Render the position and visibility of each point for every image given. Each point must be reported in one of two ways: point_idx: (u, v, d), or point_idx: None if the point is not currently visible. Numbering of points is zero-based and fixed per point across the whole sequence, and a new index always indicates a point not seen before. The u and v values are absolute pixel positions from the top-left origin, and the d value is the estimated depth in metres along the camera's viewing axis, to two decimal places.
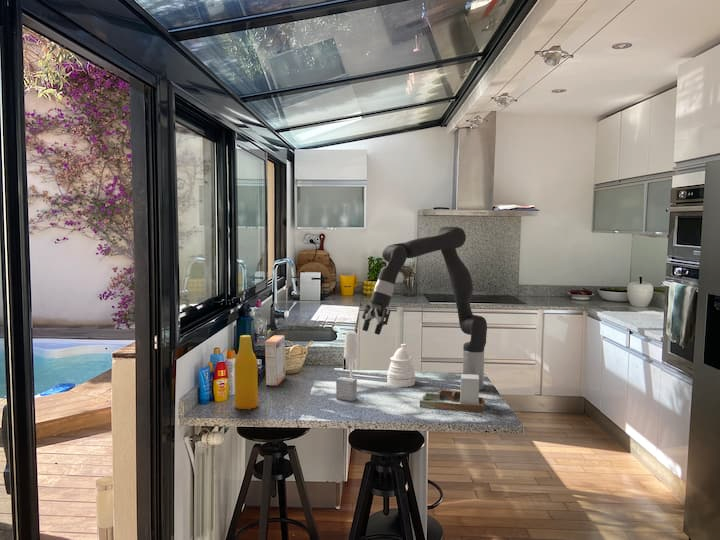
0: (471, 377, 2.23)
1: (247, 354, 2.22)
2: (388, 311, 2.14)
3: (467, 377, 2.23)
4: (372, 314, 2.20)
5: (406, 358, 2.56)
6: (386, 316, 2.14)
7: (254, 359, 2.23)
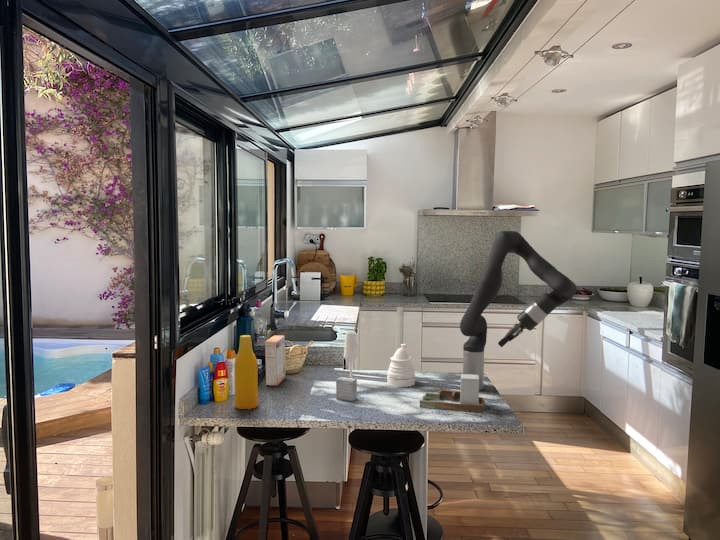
0: (471, 377, 2.23)
1: (247, 354, 2.22)
2: (515, 334, 2.14)
3: (467, 377, 2.23)
4: None
5: (406, 358, 2.56)
6: (511, 336, 2.15)
7: (254, 359, 2.23)
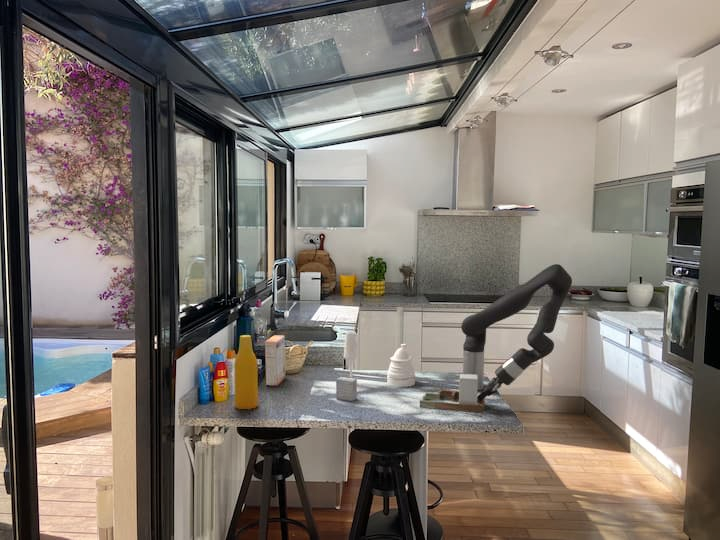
0: (470, 377, 2.23)
1: (247, 354, 2.22)
2: (493, 391, 2.16)
3: (466, 377, 2.23)
4: None
5: (406, 358, 2.56)
6: (489, 392, 2.18)
7: (254, 359, 2.23)
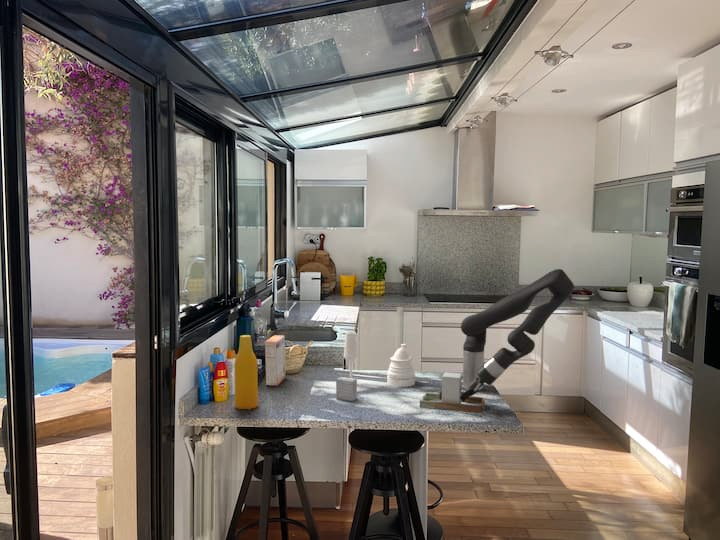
0: (453, 376, 2.25)
1: (247, 354, 2.22)
2: (475, 390, 2.18)
3: (448, 375, 2.25)
4: None
5: (406, 358, 2.56)
6: (471, 391, 2.20)
7: (254, 359, 2.23)
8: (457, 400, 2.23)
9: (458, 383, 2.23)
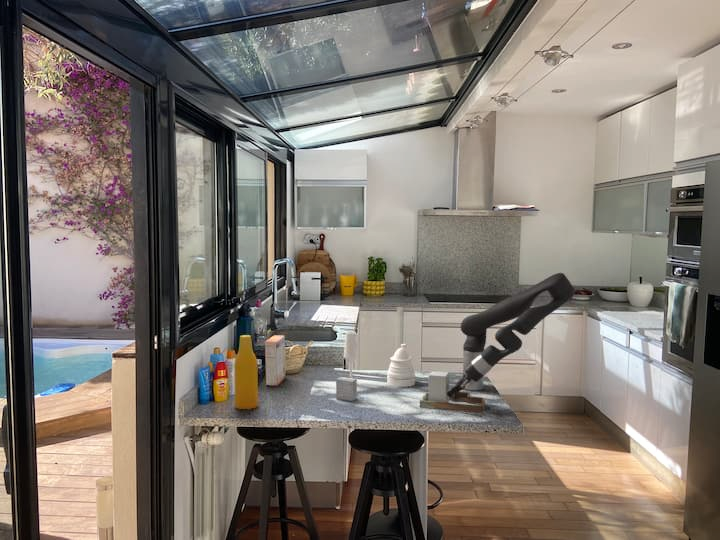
0: (439, 374, 2.27)
1: (247, 354, 2.22)
2: (461, 387, 2.20)
3: (435, 374, 2.27)
4: None
5: (406, 358, 2.56)
6: (458, 388, 2.21)
7: (254, 359, 2.23)
8: (444, 398, 2.25)
9: (444, 381, 2.24)
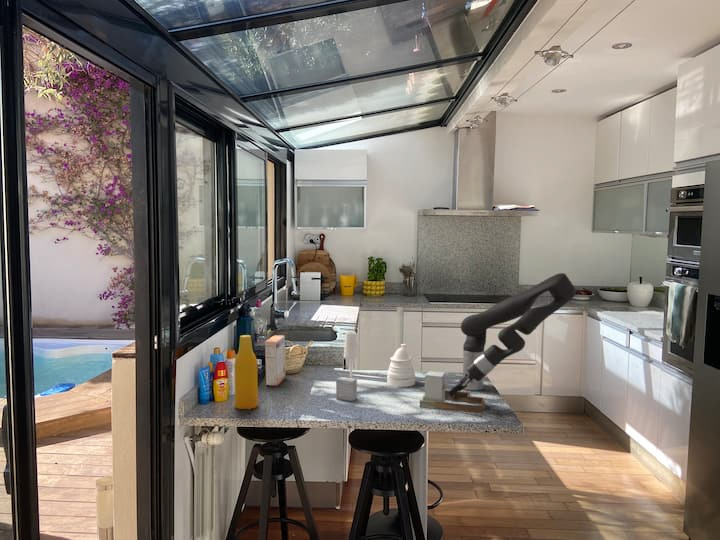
0: (435, 374, 2.27)
1: (247, 354, 2.22)
2: (463, 385, 2.20)
3: (431, 374, 2.28)
4: None
5: (406, 358, 2.56)
6: (460, 387, 2.21)
7: (254, 359, 2.23)
8: (440, 398, 2.25)
9: (440, 382, 2.25)
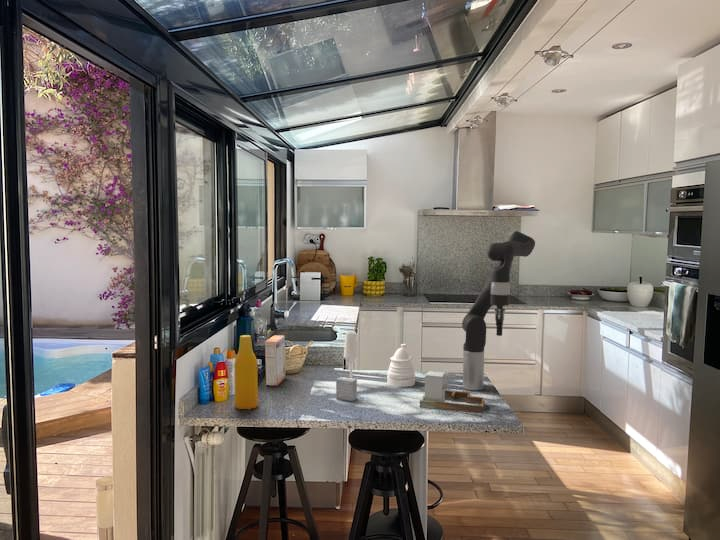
0: (435, 374, 2.27)
1: (247, 354, 2.22)
2: (499, 317, 2.19)
3: (431, 374, 2.28)
4: (497, 313, 2.25)
5: (406, 358, 2.56)
6: (499, 321, 2.21)
7: (254, 359, 2.23)
8: (440, 398, 2.25)
9: (440, 382, 2.25)
